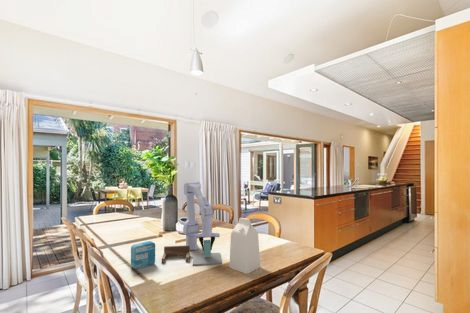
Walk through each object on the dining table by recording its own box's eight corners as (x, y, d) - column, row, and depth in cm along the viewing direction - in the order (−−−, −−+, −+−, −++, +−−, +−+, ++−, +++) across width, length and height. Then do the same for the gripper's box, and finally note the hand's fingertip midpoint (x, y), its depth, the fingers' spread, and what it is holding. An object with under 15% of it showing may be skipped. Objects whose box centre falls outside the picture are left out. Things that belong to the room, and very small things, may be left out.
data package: (133, 270, 130) (134, 247, 130) (130, 267, 133) (130, 245, 134) (155, 263, 138) (155, 242, 139) (151, 261, 141) (151, 240, 142)
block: (203, 253, 147) (203, 239, 147) (210, 253, 148) (210, 239, 148) (203, 257, 141) (203, 243, 142) (210, 256, 142) (210, 242, 142)
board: (193, 255, 151) (193, 253, 151) (219, 253, 153) (219, 252, 153) (192, 265, 135) (192, 264, 135) (221, 264, 137) (221, 262, 137)
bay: (164, 256, 149) (164, 246, 149) (189, 255, 151) (189, 245, 151) (161, 263, 139) (161, 252, 139) (188, 261, 141) (188, 251, 141)
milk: (260, 267, 133) (259, 218, 134) (246, 274, 124) (246, 222, 125) (243, 261, 141) (242, 215, 142) (229, 267, 132) (229, 218, 133)
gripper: (194, 228, 140) (194, 253, 139) (219, 227, 142) (219, 251, 141) (194, 225, 147) (194, 248, 146) (219, 224, 149) (219, 247, 148)
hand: (207, 250), depth 144 cm, fingers closed on block, 4 cm apart
